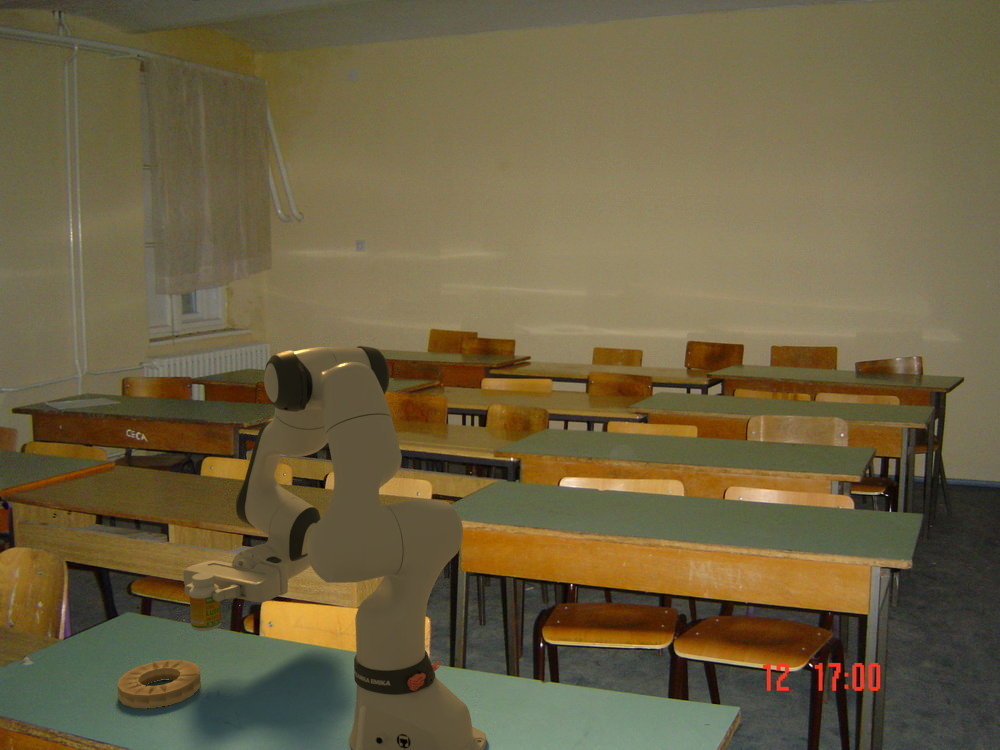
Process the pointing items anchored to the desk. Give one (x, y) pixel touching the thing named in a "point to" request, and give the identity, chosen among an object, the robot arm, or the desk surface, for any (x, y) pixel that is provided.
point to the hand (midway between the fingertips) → (200, 594)
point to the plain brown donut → (162, 695)
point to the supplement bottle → (204, 603)
